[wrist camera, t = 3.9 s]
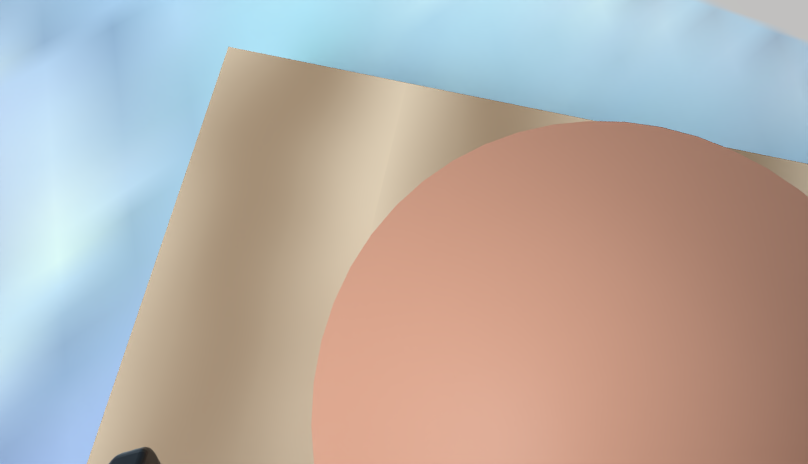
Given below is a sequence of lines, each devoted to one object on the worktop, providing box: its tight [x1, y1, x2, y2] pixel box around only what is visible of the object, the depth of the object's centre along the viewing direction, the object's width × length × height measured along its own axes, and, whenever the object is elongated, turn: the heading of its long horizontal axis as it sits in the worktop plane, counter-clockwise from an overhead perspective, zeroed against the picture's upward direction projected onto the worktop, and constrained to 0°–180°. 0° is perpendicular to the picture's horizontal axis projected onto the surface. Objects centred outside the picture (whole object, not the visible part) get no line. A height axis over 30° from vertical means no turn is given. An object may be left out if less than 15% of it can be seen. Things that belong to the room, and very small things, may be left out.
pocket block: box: [87, 47, 808, 464], centre depth 14 cm, size 14×14×3 cm
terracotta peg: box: [311, 121, 808, 464], centre depth 10 cm, size 4×4×12 cm
